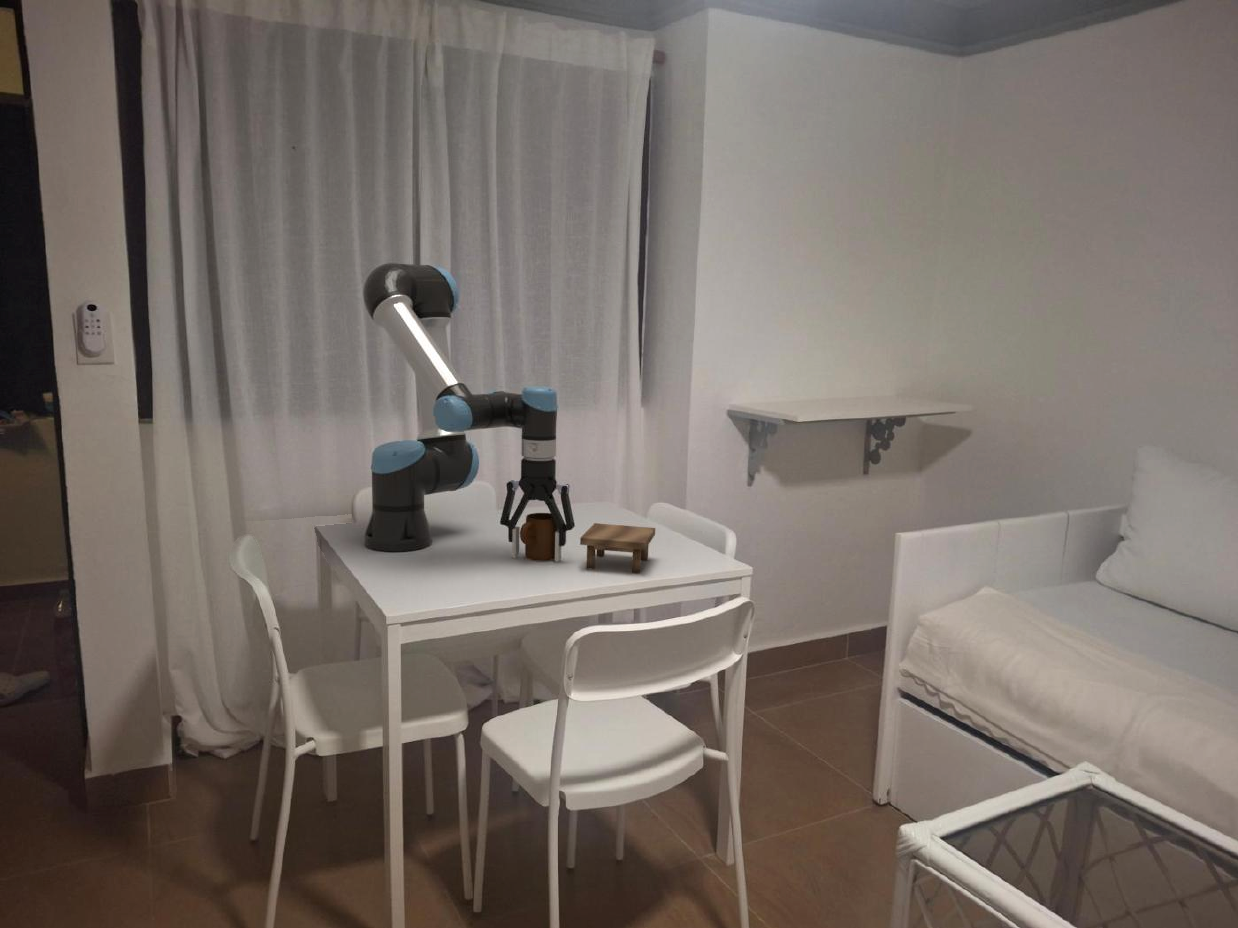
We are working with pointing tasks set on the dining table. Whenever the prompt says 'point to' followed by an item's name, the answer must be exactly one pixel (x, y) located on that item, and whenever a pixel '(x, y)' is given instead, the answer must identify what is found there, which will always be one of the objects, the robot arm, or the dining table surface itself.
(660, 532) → the dining table surface
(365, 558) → the dining table surface
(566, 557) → the dining table surface
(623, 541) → the stool
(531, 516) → the mug
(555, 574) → the dining table surface
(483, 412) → the robot arm
